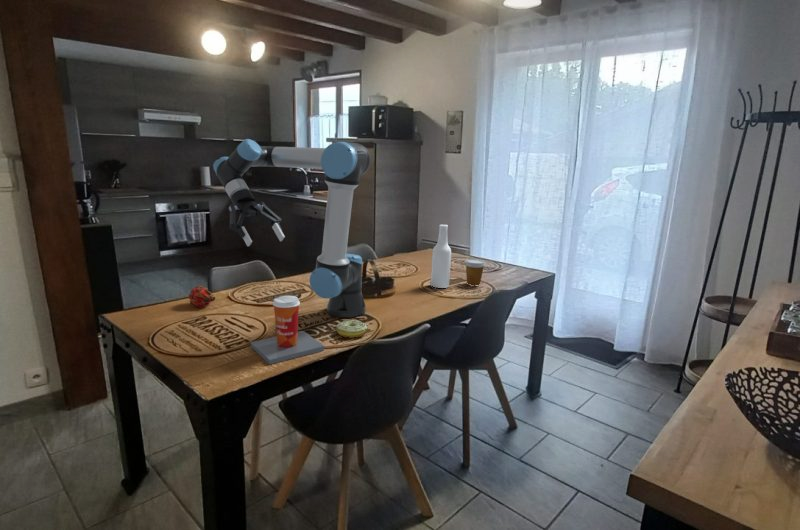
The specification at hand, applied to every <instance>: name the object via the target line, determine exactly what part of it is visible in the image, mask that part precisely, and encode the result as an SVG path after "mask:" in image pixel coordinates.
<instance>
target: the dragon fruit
mask: <svg viewBox="0 0 800 530" xmlns="http://www.w3.org/2000/svg"><path fill="white" fill-rule="evenodd" d="M188 299H189V303H190V305H191V306H196V307H197V308H198V309H205V307H204V306H210V305H211V302H214V301H215V300H216V296H214V295H213V294H212V292H211V291H210V290H209V288H208V287H204V286H202V285H197V286H195V287H193V288H192V289H191V290H190V292H189V294H188Z"/></svg>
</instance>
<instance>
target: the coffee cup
mask: <svg viewBox="0 0 800 530" xmlns="http://www.w3.org/2000/svg"><path fill="white" fill-rule="evenodd" d="M300 304H301V302H300V300H299V298H298V297H297V296H294V295H280V296H277V297H275V298H274V299H273V302H272V306H273V311H274V312H273V313H274V321H275V322H274V323H275V333H276V337H277V344H278V346H279V347H282V348H290V347H293V346H295V345H296V344H297V333H298V332H299V331H298V330H299V329H298V328H299V327H298V326H299V313H300V312H299V308H300Z"/></svg>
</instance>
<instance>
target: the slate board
mask: <svg viewBox="0 0 800 530" xmlns="http://www.w3.org/2000/svg"><path fill="white" fill-rule="evenodd" d="M250 347H251V348H252V349H253V350H254V351H255V352H256V353H257V354H258V355H259V356H260V357H261V358H262V359H263V360H264V361H265V362H266V363H267V364H268V365H273V364H274V365H275V364H278V363H281V362H285V361H288V360H292V359H296V358H300V357H304V356H309V355H312V354H315V353H319V352H323V351H325V345H323V344H322V343H320V342H319V341H318V340H317V339H315V338H314V337H312V336H311V335H309V333H306V332H305V331H304V330H300V331H298V333H297V344H296V345H295V346H293V347H290V348H282V347H279V346H278V344H277V336H273V337H268V338H264V339H260V340H255V341H250Z"/></svg>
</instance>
